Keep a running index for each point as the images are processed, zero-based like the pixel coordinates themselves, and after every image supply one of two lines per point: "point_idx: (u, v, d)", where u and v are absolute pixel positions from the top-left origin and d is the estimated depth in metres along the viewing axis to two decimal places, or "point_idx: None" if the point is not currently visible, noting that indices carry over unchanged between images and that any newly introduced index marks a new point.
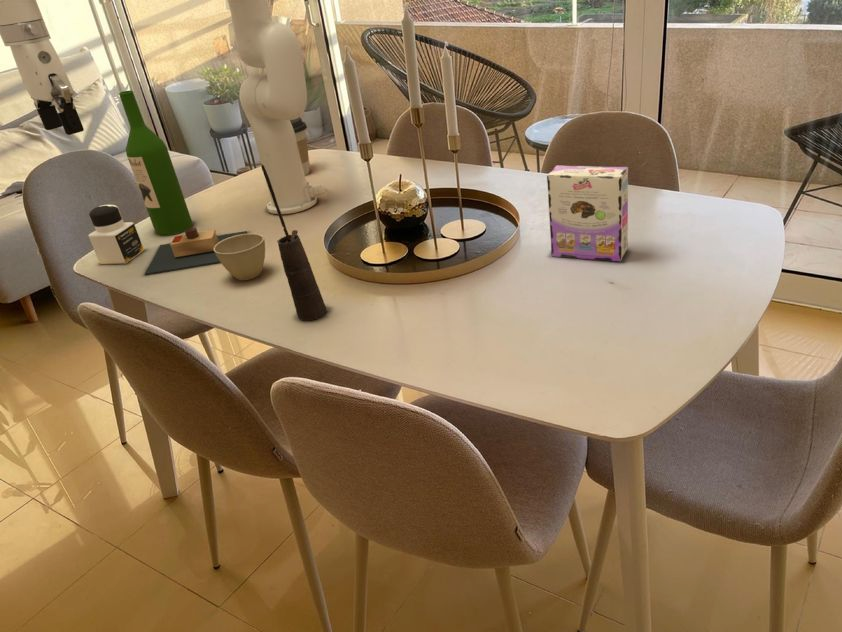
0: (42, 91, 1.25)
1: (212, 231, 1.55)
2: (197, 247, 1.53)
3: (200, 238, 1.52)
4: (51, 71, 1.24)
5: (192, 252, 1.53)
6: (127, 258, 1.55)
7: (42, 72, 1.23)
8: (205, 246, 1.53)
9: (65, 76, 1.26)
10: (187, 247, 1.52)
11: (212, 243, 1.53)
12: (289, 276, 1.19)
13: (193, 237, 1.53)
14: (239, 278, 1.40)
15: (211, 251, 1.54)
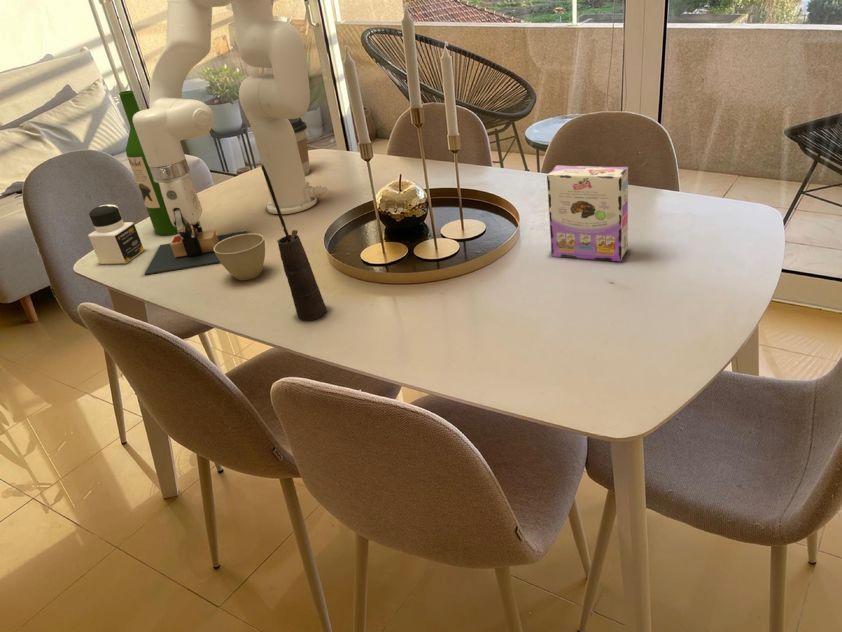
0: None
1: (212, 231, 1.55)
2: None
3: (200, 238, 1.52)
4: (175, 206, 1.45)
5: None
6: (127, 258, 1.55)
7: (168, 206, 1.45)
8: (205, 246, 1.53)
9: (187, 210, 1.46)
10: None
11: (212, 243, 1.53)
12: (289, 276, 1.19)
13: None
14: (239, 278, 1.40)
15: (211, 251, 1.54)
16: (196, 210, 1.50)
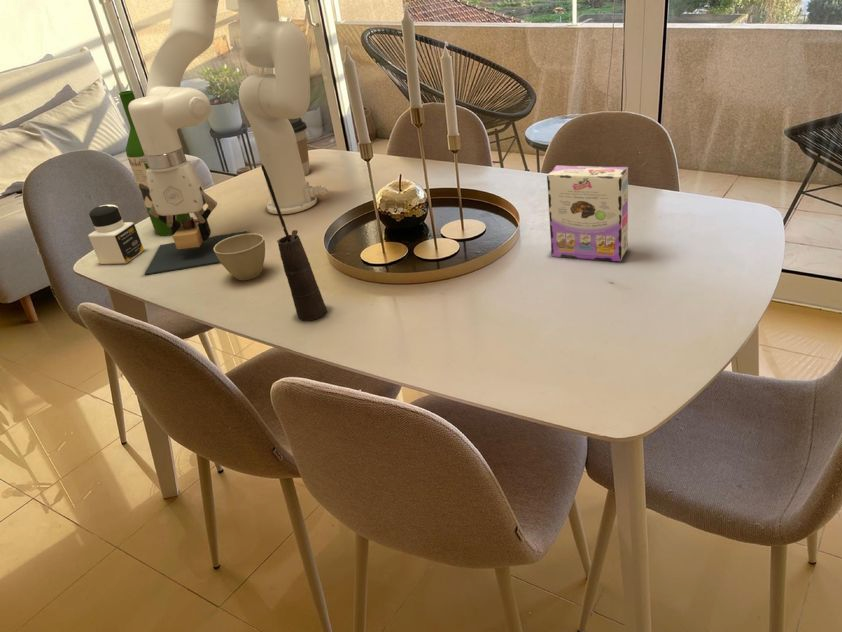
0: None
1: (190, 233, 1.49)
2: None
3: (178, 231, 1.51)
4: None
5: None
6: (127, 258, 1.55)
7: None
8: None
9: (152, 200, 1.47)
10: None
11: None
12: (289, 276, 1.19)
13: (183, 227, 1.52)
14: (239, 278, 1.40)
15: None
16: (172, 205, 1.47)
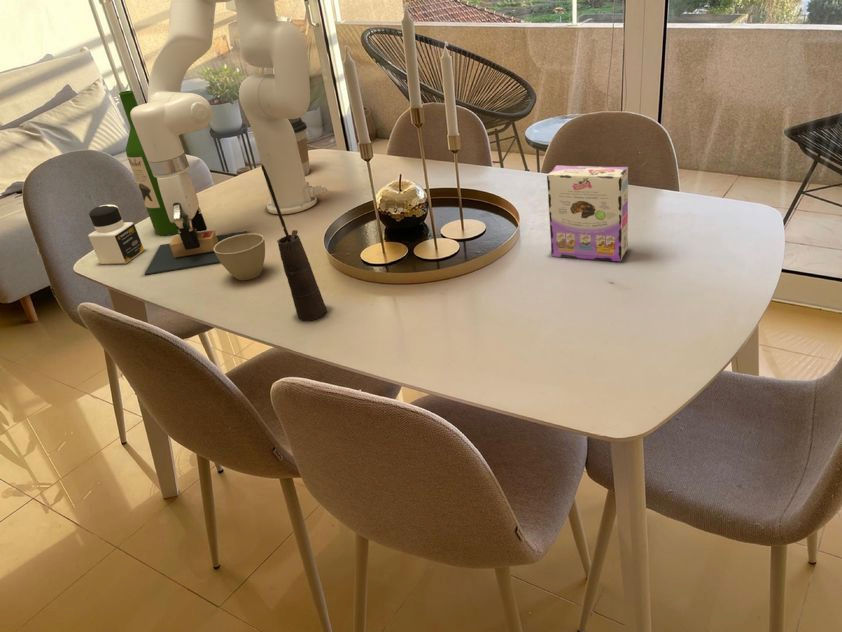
0: (197, 198, 1.53)
1: (172, 242, 1.52)
2: None
3: None
4: None
5: None
6: (127, 258, 1.55)
7: None
8: None
9: None
10: None
11: None
12: (289, 276, 1.19)
13: None
14: (239, 278, 1.40)
15: None
16: None
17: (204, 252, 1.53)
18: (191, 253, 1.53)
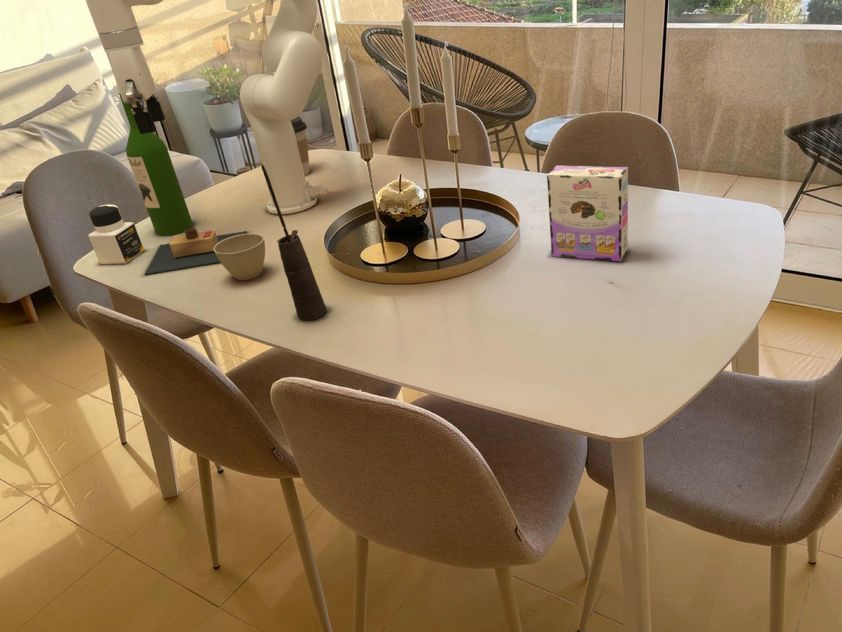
0: (153, 82, 1.46)
1: (172, 242, 1.52)
2: None
3: (185, 235, 1.55)
4: None
5: None
6: (127, 258, 1.55)
7: None
8: None
9: None
10: None
11: None
12: (289, 276, 1.19)
13: None
14: (239, 278, 1.40)
15: None
16: None
17: (204, 252, 1.53)
18: (191, 253, 1.53)
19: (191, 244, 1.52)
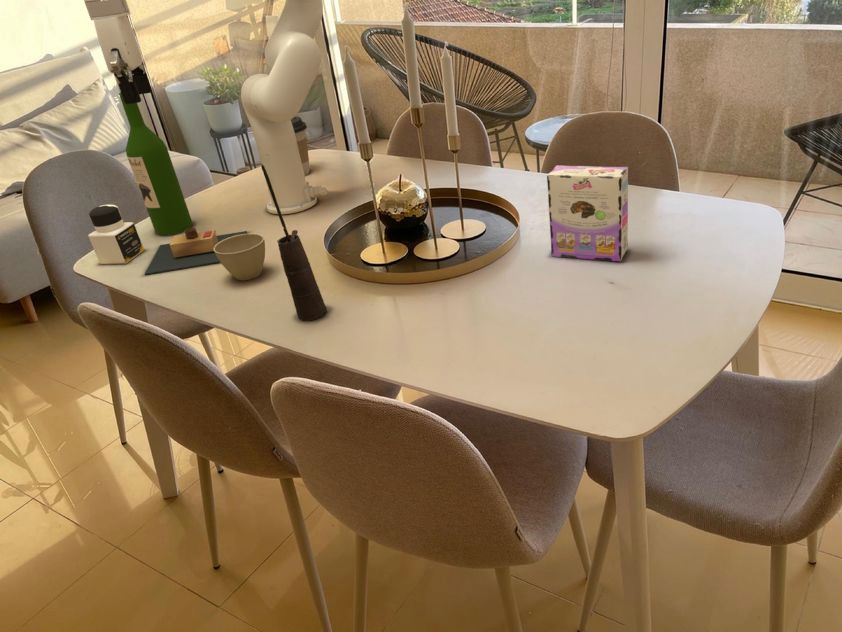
0: (139, 54, 1.46)
1: (172, 242, 1.52)
2: None
3: (185, 235, 1.55)
4: None
5: None
6: (127, 258, 1.55)
7: None
8: None
9: None
10: None
11: None
12: (289, 276, 1.19)
13: None
14: (239, 278, 1.40)
15: None
16: None
17: (204, 252, 1.53)
18: (191, 253, 1.53)
19: (191, 244, 1.52)
